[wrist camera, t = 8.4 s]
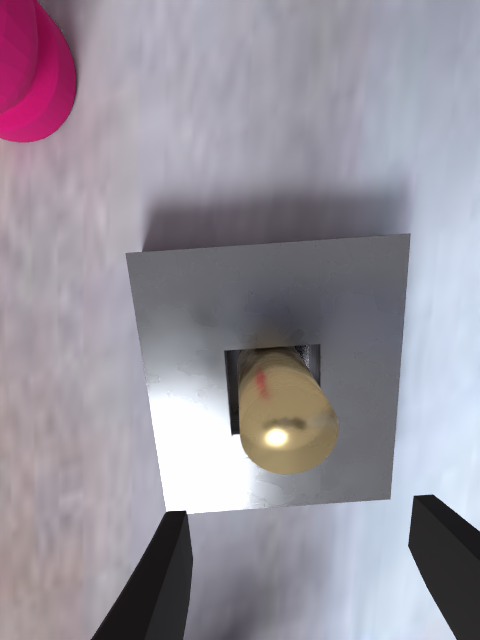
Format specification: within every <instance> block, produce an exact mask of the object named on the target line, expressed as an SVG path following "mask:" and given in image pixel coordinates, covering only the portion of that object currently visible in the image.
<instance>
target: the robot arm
mask: <svg viewBox="0 0 480 640" xmlns="http://www.w3.org/2000/svg"><path fill="white" fill-rule="evenodd" d="M408 547H409V549H410V551H411V553H412V556H413V558H414V560H415V562H416V565H417V567H418V569H419V571H420V573H421V575H422V578H423V580H424V582H425V584H426V586H427V588H428V590H429V592H430V593H431V595H432V597H433V599H434V601H435V602H436V604H437V606H438V608H439V609H440V611H441V613H442V615H443V616H444V618H445V620H446V622H447V623H448V625H449V627H450V629H451V630H452V632H453V634H454V636H455V637H456V639H457V640H480V531H478V530H477V529H476V528H475V527H473V526H472V525H471V524H470V523H468V522H467V521H466V520H465V519H463V518H462V517H461V516H460V515H458V514H457V513H456V512H455V511H453V510H452V509H451V508H450V507H448V506H447V505H446V504H444V503H443V502H442V501H441V500H439V499H438V498H437V497H435V496H434V495H419V496H414V499H413V508H412V517H411V526H410V535H409V544H408ZM192 566H193V555H192V547H191V539H190V531H189V524H188V516H187V510H176V511H167V512H166V513H165V514H164V516H163V518H162V520H161V522H160V524H159V526H158V528H157V530H156V532H155V534H154V536H153V538H152V540H151V542H150V543H149V545H148V547H147V549H146V551H145V553H144V554H143V556H142V558H141V560H140V561H139V563H138V565H137V567H136V568H135V570H134V572H133V573H132V575H131V577H130V579H129V580H128V582H127V584H126V585H125V587H124V589H123V590H122V592H121V594H120V595H119V597H118V599H117V600H116V602H115V603H114V605H113V606H112V608H111V609H110V611H109V613H108V614H107V616H106V617H105V619H104V620H103V622H102V624H101V625H100V627H99V628H98V630H97V631H96V633H95V634H94V636H93V637H92V639H91V640H183V636H184V630H185V625H186V619H187V613H188V607H189V600H190V589H191V578H192Z"/></svg>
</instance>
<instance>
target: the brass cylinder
mask: <svg viewBox="0 0 480 640" xmlns="http://www.w3.org/2000/svg"><path fill="white" fill-rule="evenodd" d="M238 394H239V423H240V440H241V444H242V447H243V449H244V451H245V453H246V455H247V456H248V457H249V458H250V460H251V461H252V462H254V463H255V464H256V465H257V466H259V467H260V468H262V469H264V470H266V471H269V472H272V473H277V474H296V473H301V472H304V471H307V470H309V469H312V468H314V467H315V466H317V465H318V464H320V463H321V462H322V461H324V460H325V458H326V457H327V456H328V455H329V454H330V453H331V451H332V450H333V448H334V446H335V444H336V441H337V437H338V431H339V426H338V419H337V416H336V413H335V411H334V409H333V408H332V406H331V404H330V403H329V401H328V400H327V398H326V396H325V395H324V393H323V392H322V390H321V388H320V387H319V385H318V384H317V382H316V380H315V379H314V377H313V376H312V374H311V372H310V371H309V369H308V368H307V366H306V364H305V363H304V361H303V360H302V358H301V356H300V355H299V353H298V352H297V350H296V348H295V347H294V346H284V347H269V348H255V349H243V350H242V351H241V353H240V355H239V358H238Z"/></svg>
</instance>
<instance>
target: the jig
mask: <svg viewBox="0 0 480 640" xmlns="http://www.w3.org/2000/svg"><path fill="white" fill-rule="evenodd" d="M409 247H410V234H398V235H383V236H368V237H354V238H339V239H325V240H310V241H295V242H281V243H266V244H252V245H237V246H222V247H208V248H193V249H179V250H164V251H149V252H135V253H126V259H127V265H128V271H129V278H130V284H131V290H132V296H133V303H134V309H135V315H136V321H137V328H138V334H139V340H140V346H141V353H142V359H143V365H144V371H145V378H146V384H147V390H148V396H149V403H150V409H151V415H152V421H153V428H154V434H155V440H156V447H157V453H158V459H159V465H160V472H161V478H162V484H163V490H164V497H165V503H166V509H167V511H176V510H187V513H198V512H212V511H226V510H241V509H255V508H270V507H284V506H299V505H313V504H328V503H342V502H357V501H371V500H386V499H390V497H391V483H392V470H393V457H394V444H395V431H396V418H397V405H398V392H399V378H400V365H401V352H402V339H403V326H404V313H405V300H406V287H407V273H408V260H409ZM299 345H309V371H310V372H311V374H312V376H313V377H314V379H315V380H316V382H317V384H318V385H319V387H320V388H321V390H322V392H323V393H324V395H325V396H326V398H327V400H328V401H329V403H330V404H331V406H332V408H333V409H334V411H335V413H336V416H337V419H338V426H339V431H338V437H337V441H336V444H335V446H334V448H333V450H332V451H331V453H330V454H329V455H328V456H327V457H326V458H325V460H324V461H322V462H321V463H320V464H318V465H317V466H315V467H314V468H312V469H309V470H307V471H304V472H301V473H296V474H277V473H272V472H269V471H266V470H264V469H262V468H260V467H259V466H257V465H256V464H255V463H254V462H252V461H251V460H250V458H249V457H248V456H247V455H246V453H245V451H244V449H243V447H242V444H241V440H240V423H239V411H232V410H231V398H230V386H229V374H228V362H227V350H240V349H255V348H269V347H284V346H299Z"/></svg>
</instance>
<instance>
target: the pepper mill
mask: <svg viewBox="0 0 480 640" xmlns="http://www.w3.org/2000/svg"><path fill="white" fill-rule="evenodd" d="M75 89H76V73H75V67H74V62H73V58H72V55H71V52H70V49H69V47H68V44H67V42H66V40H65V38H64V36H63V35H62V33H61V31H60V29H59V28H58V27H57V25H56V24H55V23H54V21H53V20H52V19H51V17H50V16H49V15H48V14H47V13H46V11H45V10H44V9H43V8H42V6H41V5H40V4H39V3H38V2H37V0H0V138H2V139H5V140H9V141H14V142H33V141H37V140H40V139H44V138H45V137H47V136H49V135H51V134H52V133H54V132H55V131H56V130H58V128H59V127H60V126H61V125H62V124H63V123H64V121H65V120H66V119H67V117H68V115H69V113H70V110H71V108H72V106H73V103H74V97H75Z"/></svg>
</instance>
